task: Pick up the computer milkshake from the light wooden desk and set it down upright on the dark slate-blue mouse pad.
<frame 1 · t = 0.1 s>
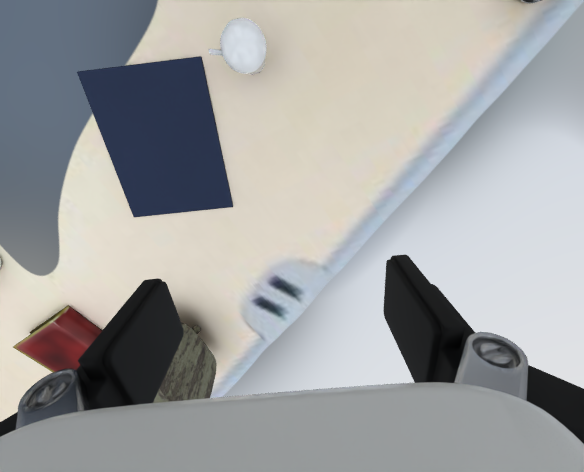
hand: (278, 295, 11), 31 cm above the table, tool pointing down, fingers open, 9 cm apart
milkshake: (249, 60, 34), on the table
mouse pad: (164, 146, 38), on the table
hardcover book: (95, 348, 56), on the table
tabletop clock: (189, 329, 54), on the table
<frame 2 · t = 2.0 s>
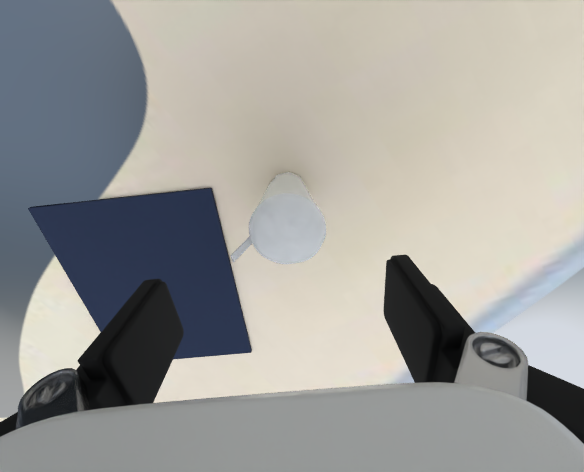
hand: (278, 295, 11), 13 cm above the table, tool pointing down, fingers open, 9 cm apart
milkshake: (282, 190, 23), on the table
mouse pad: (158, 289, 27), on the table
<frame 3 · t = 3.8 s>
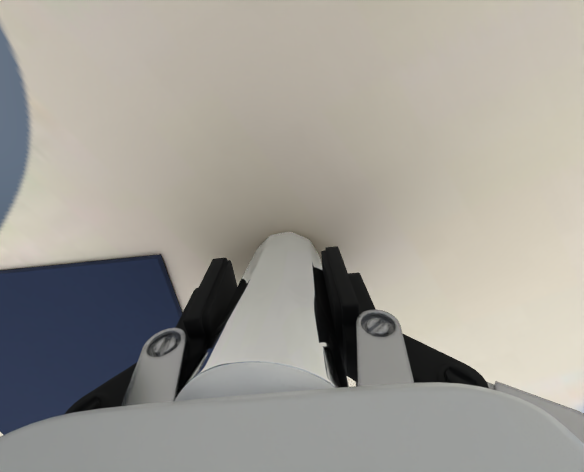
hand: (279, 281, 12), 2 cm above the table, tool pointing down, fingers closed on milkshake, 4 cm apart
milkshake: (280, 258, 14), on the table, touching gripper
mouse pad: (92, 391, 18), on the table
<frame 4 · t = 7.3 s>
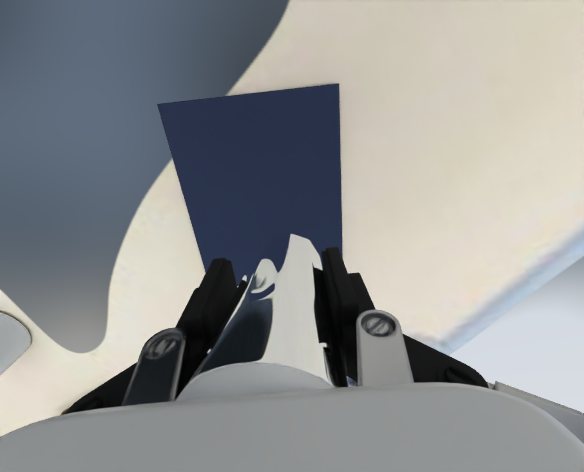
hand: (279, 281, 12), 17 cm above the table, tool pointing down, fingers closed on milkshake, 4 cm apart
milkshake: (280, 258, 14), point 15 cm above the table, touching gripper
mouse pad: (264, 201, 28), on the table
pill bottle: (2, 330, 35), on the table
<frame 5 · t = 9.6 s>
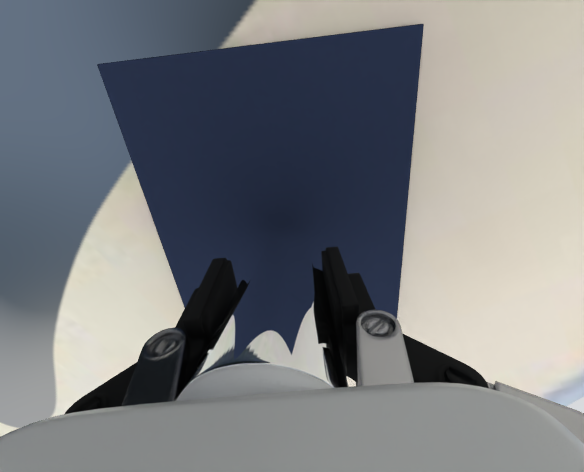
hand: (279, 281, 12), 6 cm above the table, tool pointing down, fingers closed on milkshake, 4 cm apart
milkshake: (280, 259, 14), point 4 cm above the table, touching gripper
mouse pad: (282, 228, 18), on the table
when the fingers open (2 cm above the table, at t = 11.0 s): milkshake stays where it is, resting on mouse pad.
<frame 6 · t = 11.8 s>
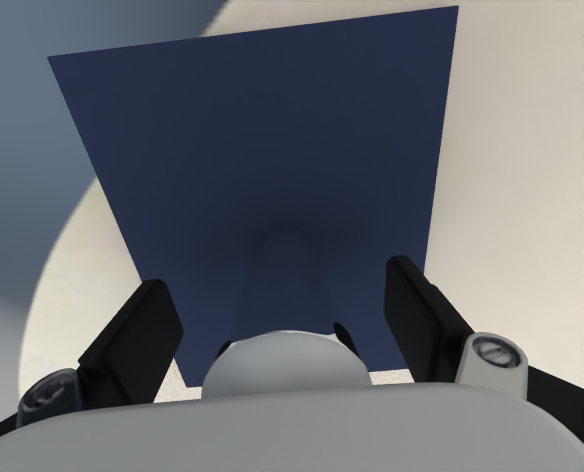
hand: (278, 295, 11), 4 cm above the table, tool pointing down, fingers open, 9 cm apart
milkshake: (280, 253, 15), resting on mouse pad
mouse pad: (280, 253, 15), on the table
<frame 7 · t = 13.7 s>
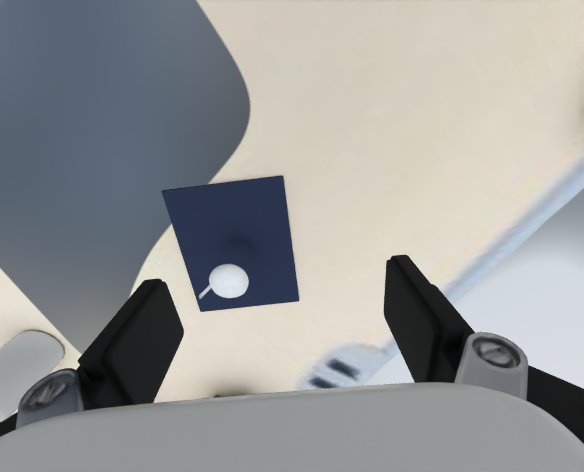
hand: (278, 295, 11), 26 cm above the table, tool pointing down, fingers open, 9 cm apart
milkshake: (237, 250, 39), resting on mouse pad
mouse pad: (237, 250, 39), on the table
pill bottle: (42, 346, 46), on the table
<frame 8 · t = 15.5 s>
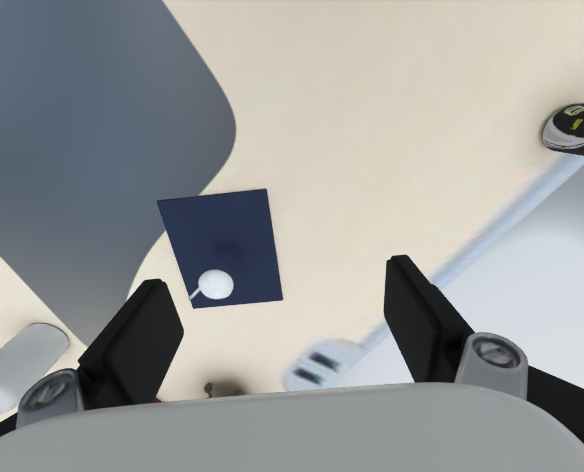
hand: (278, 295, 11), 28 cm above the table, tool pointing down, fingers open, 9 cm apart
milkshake: (225, 254, 42), resting on mouse pad
mouse pad: (226, 254, 43), on the table
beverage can: (559, 127, 35), on the table
pill bottle: (48, 337, 50), on the table
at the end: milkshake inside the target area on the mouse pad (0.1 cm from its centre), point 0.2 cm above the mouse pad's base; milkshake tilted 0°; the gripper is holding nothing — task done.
